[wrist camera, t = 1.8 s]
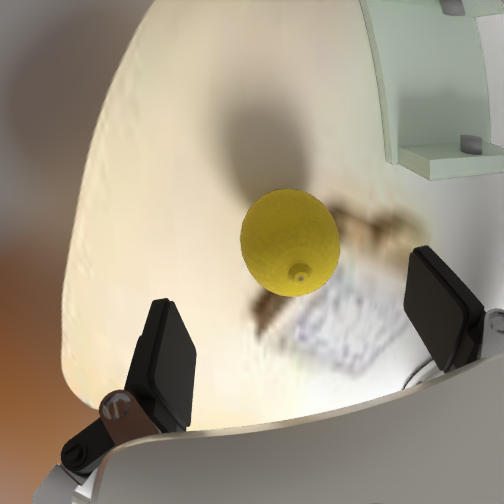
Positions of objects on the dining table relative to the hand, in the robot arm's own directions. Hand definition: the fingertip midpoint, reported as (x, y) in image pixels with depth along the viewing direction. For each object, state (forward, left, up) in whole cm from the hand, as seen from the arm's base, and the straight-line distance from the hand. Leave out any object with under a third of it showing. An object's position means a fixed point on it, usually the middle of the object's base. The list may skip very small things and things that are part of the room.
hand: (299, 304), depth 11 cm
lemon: (-1, 0, -11) cm, 11 cm away
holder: (+8, -13, -10) cm, 19 cm away
